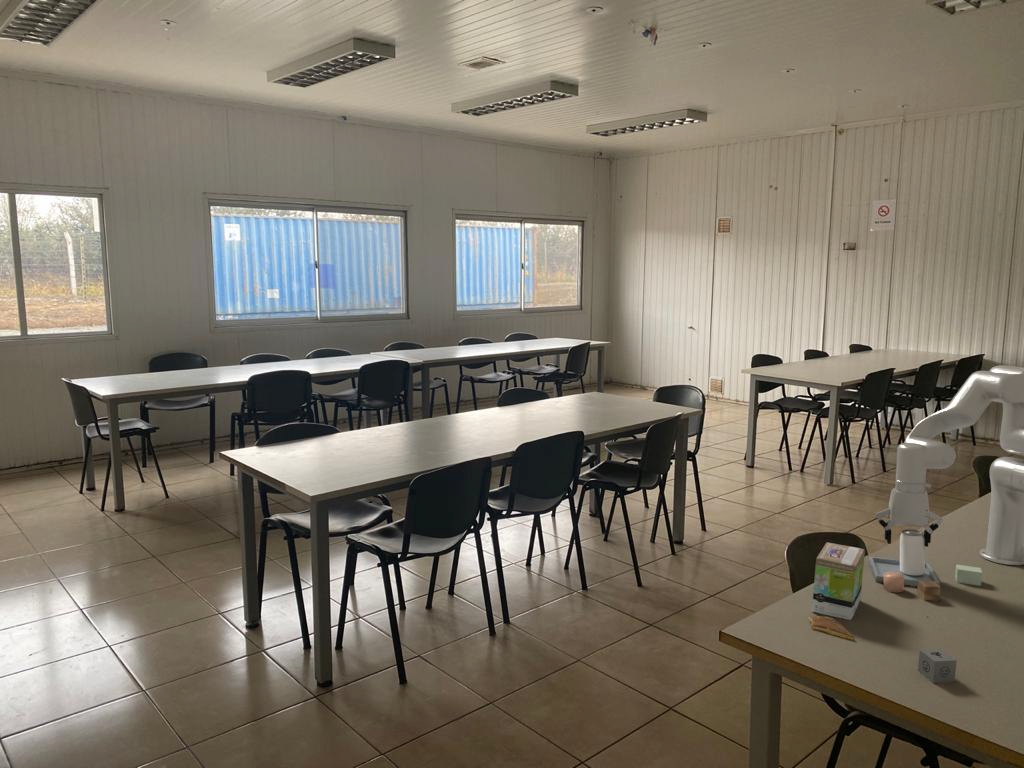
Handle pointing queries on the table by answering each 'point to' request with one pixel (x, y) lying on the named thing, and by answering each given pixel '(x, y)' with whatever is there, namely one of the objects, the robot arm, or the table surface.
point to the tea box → (838, 580)
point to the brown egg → (894, 581)
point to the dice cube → (937, 665)
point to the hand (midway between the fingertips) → (907, 543)
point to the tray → (898, 571)
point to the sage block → (968, 575)
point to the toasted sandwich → (830, 626)
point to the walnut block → (928, 590)
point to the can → (912, 552)
